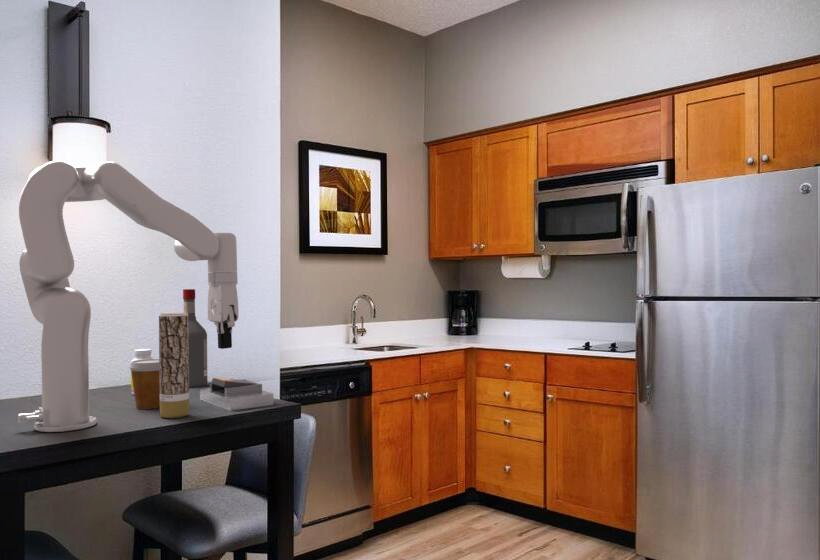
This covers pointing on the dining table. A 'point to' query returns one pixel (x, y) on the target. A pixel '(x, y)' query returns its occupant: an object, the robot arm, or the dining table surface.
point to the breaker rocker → (231, 382)
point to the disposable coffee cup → (146, 383)
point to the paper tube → (174, 364)
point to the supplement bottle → (140, 355)
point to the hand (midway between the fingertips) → (225, 347)
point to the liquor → (195, 343)
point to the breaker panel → (236, 396)
